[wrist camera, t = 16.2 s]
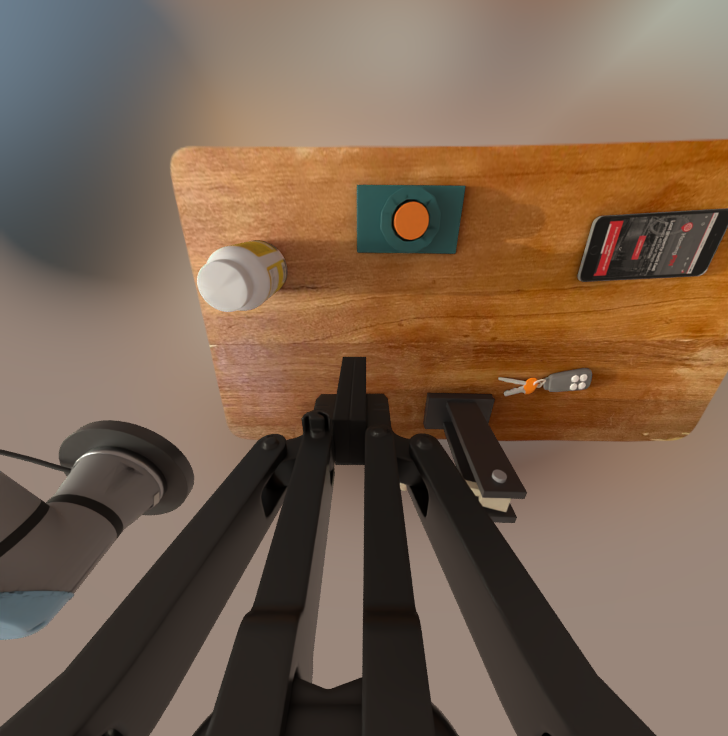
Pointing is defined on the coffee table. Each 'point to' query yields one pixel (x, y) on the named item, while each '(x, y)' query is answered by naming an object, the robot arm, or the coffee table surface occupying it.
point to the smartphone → (652, 245)
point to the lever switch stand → (475, 446)
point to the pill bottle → (242, 276)
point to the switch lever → (491, 503)
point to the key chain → (554, 382)
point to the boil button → (411, 220)
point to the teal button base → (383, 204)
